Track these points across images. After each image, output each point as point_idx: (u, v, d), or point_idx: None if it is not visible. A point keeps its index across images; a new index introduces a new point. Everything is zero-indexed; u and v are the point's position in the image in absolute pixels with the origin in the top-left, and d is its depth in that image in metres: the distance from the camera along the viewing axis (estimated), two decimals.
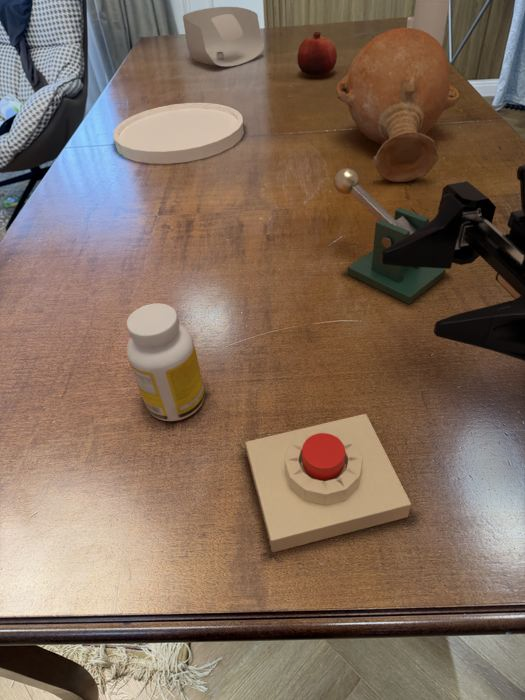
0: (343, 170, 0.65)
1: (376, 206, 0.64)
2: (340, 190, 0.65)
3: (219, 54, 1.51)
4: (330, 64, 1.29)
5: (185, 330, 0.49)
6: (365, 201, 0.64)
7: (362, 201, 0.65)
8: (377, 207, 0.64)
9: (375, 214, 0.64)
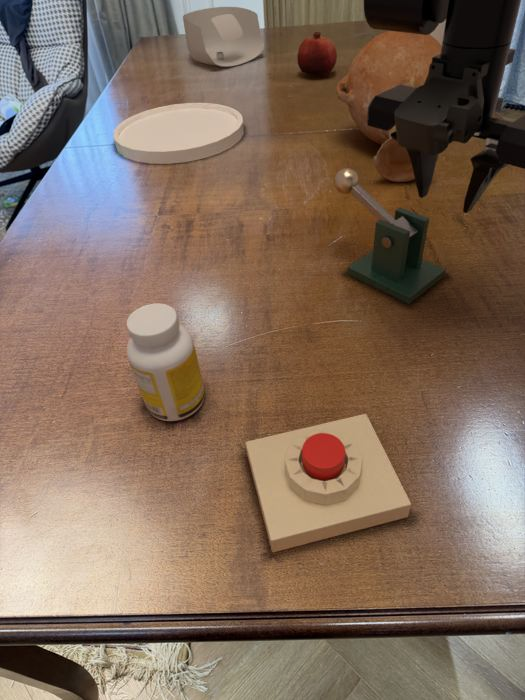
0: (343, 170, 0.65)
1: (376, 206, 0.64)
2: (340, 190, 0.65)
3: (219, 54, 1.51)
4: (330, 64, 1.29)
5: (185, 330, 0.49)
6: (365, 201, 0.64)
7: (362, 201, 0.65)
8: (377, 207, 0.64)
9: (375, 214, 0.64)
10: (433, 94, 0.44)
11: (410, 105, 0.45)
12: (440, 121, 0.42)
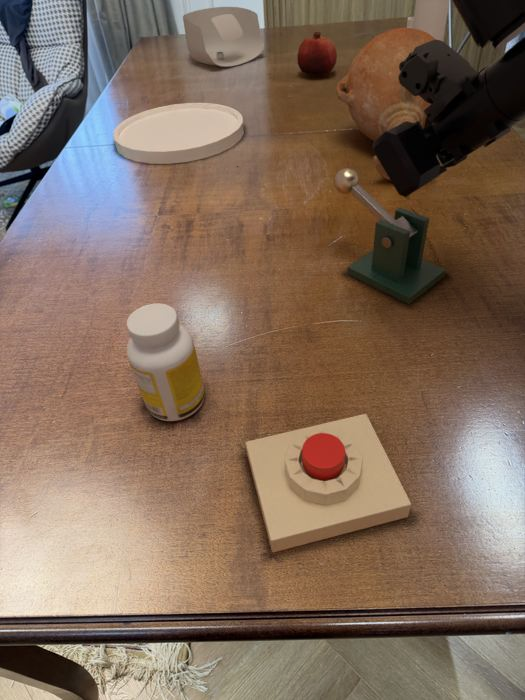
0: (343, 170, 0.65)
1: (376, 206, 0.64)
2: (340, 190, 0.65)
3: (219, 54, 1.51)
4: (330, 64, 1.29)
5: (185, 330, 0.49)
6: (365, 201, 0.64)
7: (362, 201, 0.65)
8: (377, 207, 0.64)
9: (375, 214, 0.64)
10: (454, 64, 0.48)
11: (446, 50, 0.49)
12: (417, 53, 0.48)
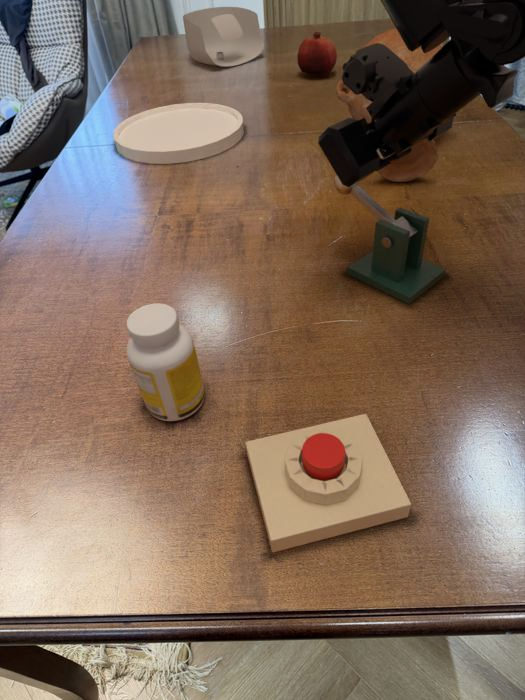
0: None
1: (376, 206, 0.64)
2: (340, 191, 0.65)
3: (219, 54, 1.51)
4: (330, 64, 1.29)
5: (185, 330, 0.49)
6: (365, 201, 0.64)
7: (362, 201, 0.65)
8: (377, 207, 0.64)
9: (375, 214, 0.64)
10: (392, 66, 0.53)
11: (386, 52, 0.54)
12: (358, 55, 0.53)
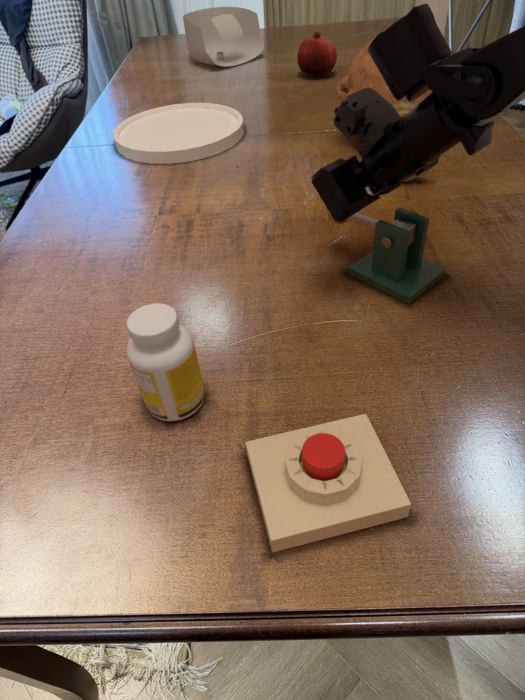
0: None
1: (371, 219, 0.66)
2: None
3: (219, 54, 1.51)
4: (330, 64, 1.29)
5: (185, 330, 0.49)
6: (359, 220, 0.67)
7: (357, 221, 0.67)
8: (372, 220, 0.66)
9: (372, 227, 0.66)
10: (381, 110, 0.57)
11: (375, 97, 0.58)
12: (349, 101, 0.56)
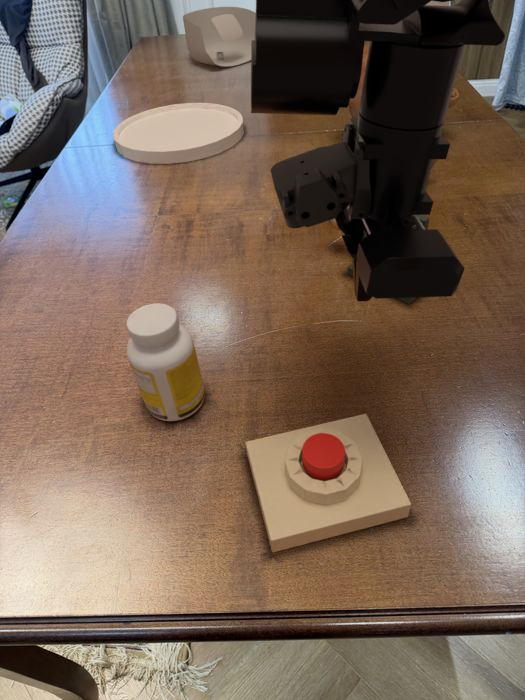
0: None
1: None
2: (336, 226, 0.69)
3: (219, 54, 1.51)
4: None
5: (185, 330, 0.49)
6: None
7: None
8: None
9: None
10: (320, 159, 0.36)
11: (292, 162, 0.37)
12: (287, 189, 0.34)
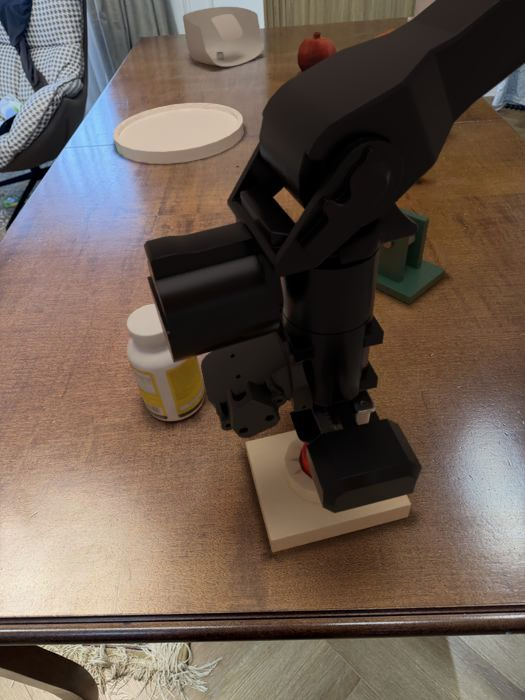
0: None
1: None
2: None
3: (219, 54, 1.51)
4: None
5: None
6: None
7: None
8: None
9: None
10: (250, 354, 0.33)
11: (222, 356, 0.34)
12: (220, 401, 0.32)
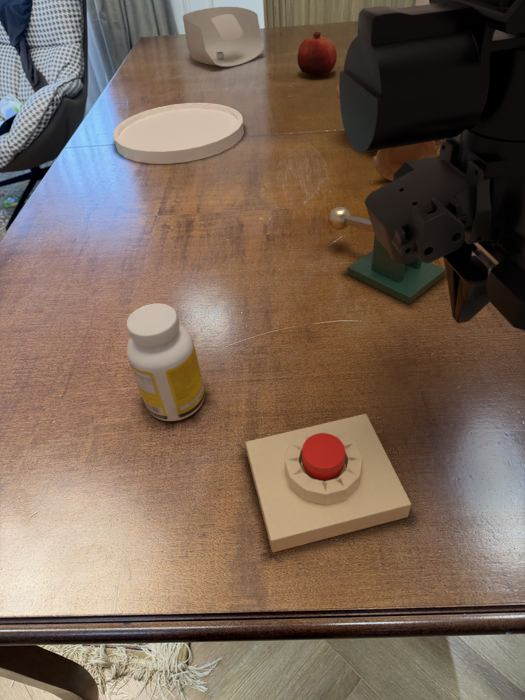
0: (332, 209, 0.70)
1: None
2: (336, 226, 0.69)
3: (219, 54, 1.51)
4: (330, 64, 1.29)
5: (185, 330, 0.49)
6: (359, 223, 0.67)
7: (357, 225, 0.67)
8: None
9: (372, 229, 0.66)
10: (423, 184, 0.32)
11: (389, 192, 0.33)
12: (400, 225, 0.31)
